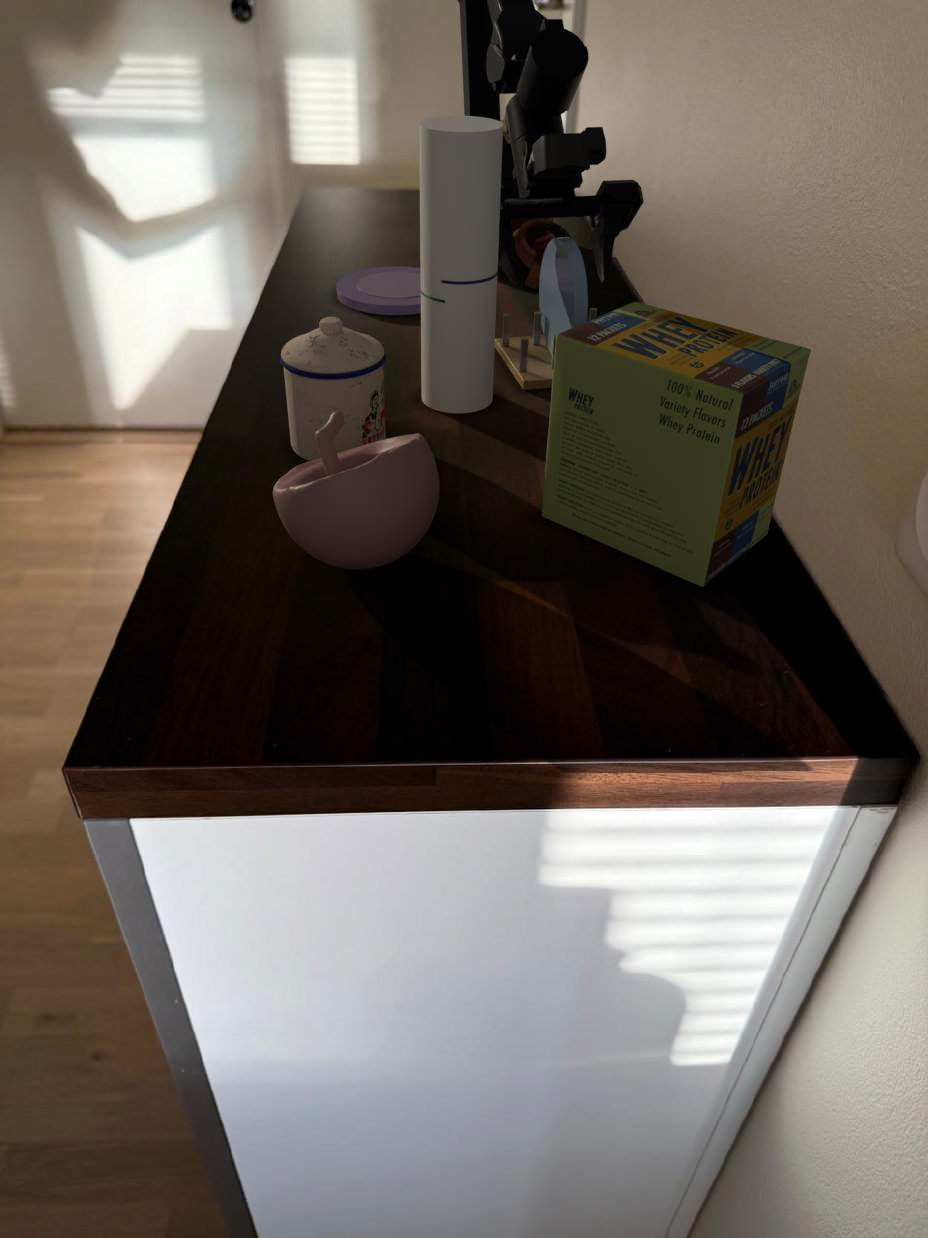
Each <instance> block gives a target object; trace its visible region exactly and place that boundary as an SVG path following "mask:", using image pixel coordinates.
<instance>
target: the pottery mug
mask: <svg viewBox="0 0 928 1238" xmlns="http://www.w3.org/2000/svg"><path fill="white" fill-rule="evenodd" d="M547 230H548V231H550V232H551V233H552V234H553V236H554V238H565V237H569V238H572V237H571V235H570V234H569V232H568V231H567V230H566V229H565V228H564V227H562V226H561V225H560V224H558V223H556V222H555V221H553V222H550V221H547V220H543V219H532V220H529V221H527V222H525V223H524V224H523V225H522V226H521V228H519V229H517V230H516V231H514V232H512V235H513V239H514V243H515V248H516V252H517V256H518V260H519V264H520V265H525V266H526V267H527V268H528V269H529V273H528V276H527V277H526V279H525V282H524V283H525V286H527V287H528V288H530V289H531V290H537V288H539V282H540V272H541V265H542V260H543V256H544V252H541V251H540V250H538V251H537V250H536V249H534V248H532V247H533V244H534V242H535V241H536V239H537V237H542V236H544V235H545V234H546V233H547ZM497 271H499V273H502V272H504V271H503V269H502V268H501V267H500V265H499V264H498V270H497Z"/></svg>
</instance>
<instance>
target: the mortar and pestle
mask: <svg viewBox="0 0 928 1238" xmlns="http://www.w3.org/2000/svg"><path fill="white" fill-rule="evenodd" d="M343 424H344V415H343V413H342V412H340V411H335V412H333V413H332V414H331V416H330V419H329V421H328V422H327V424H326V425H325V426H324V427H322V428H321V429H319V430H318V431H317V432H316V433H315V441H316V444H317V447H318V450H319V453H320V456H321V458H319V459H316V460H312V461H306V462H304V463H301V464H298V465H296V466H294V467H293V468H292V469H290V470H289V471H288V472H287V473H285V474H284V475H283V476H281V477H280V478H279V479H278V480H277V481H276V483H275V484H274V485H273V490H272V497H273V502H274V506H275V508H276V511H277V514H278V516H279V519H280V522H281V523H282V525H283V527H284V529H285V530H286V532H287V534H288V535H289V537H290V538H291V539H292V540H293V541H294V542H295V543H296V544H297V546H298V547H300V548H301V549H302V550H303V551H304V552H306V553H307V554H308V555H309V556H311V557H313V558H314V559H316V560H318V561H319V562H322V563H324V564H327V565H329V566H332V567H336V568H340V569H345V570H359V571H362V570H371V569H375V568H380V567H383V566H385V565H389V564H391V563H393V562H394V561H397V560H399V559H401V558H402V557H403V556H405V555H407V554H408V553H409V552H410V551H411V550H413V549H414V548H415V547H416V546H417V545H418V544H419V543H420V541H421V540H422V539H423V538H424V537H425V535H426V534H427V532H428V530H429V529H430V528H431V525H432V523H433V520H434V519H435V518H434V517H435V516H436V513H437V509H438V505H439V499H440V487H441V486H440V475H439V471H438V466H437V463H436V459H435V456H434V454H433V451H432V449H431V448H430V446H429V444H428V442H427V440H426V439H425V437H424V435H422V434H420V433H419V432H417V433H411V434H404V435H399V436H394V437H388V438H386V439H384V440H380V441H376V442H373V443H370V444H366V445H363V446H360V447H356V448H354V449H349V450H347V451H343V452H341V453H336V450H335V447H334V439H335V437H336V435H337V433H338V431H339V430H340V428H341V427H342V426H343Z"/></svg>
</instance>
